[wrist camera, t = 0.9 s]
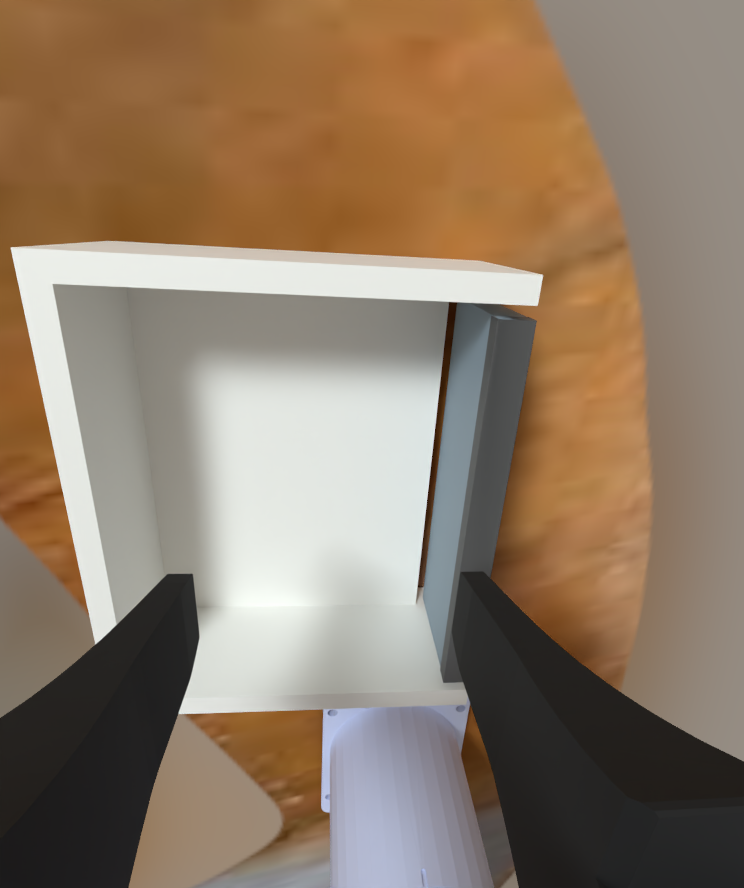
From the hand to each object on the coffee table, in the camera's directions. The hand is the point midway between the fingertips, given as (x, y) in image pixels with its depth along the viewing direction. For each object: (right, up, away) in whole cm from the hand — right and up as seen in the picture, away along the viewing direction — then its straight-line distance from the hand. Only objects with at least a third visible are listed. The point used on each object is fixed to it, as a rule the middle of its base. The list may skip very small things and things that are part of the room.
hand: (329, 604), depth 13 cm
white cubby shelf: (-2, +4, +9) cm, 9 cm away
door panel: (+4, +3, +8) cm, 10 cm away
